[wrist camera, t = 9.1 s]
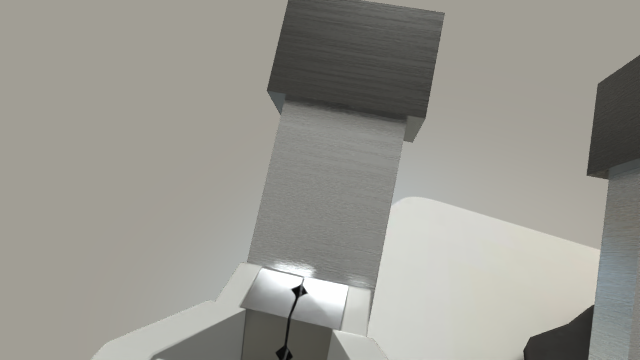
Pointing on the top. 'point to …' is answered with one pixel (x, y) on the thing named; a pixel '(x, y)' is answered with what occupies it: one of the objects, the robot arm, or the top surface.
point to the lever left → (341, 134)
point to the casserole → (563, 341)
